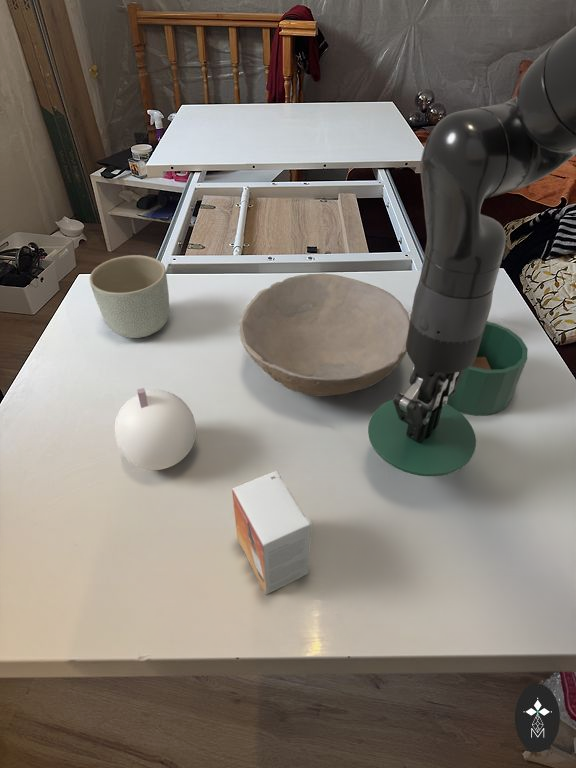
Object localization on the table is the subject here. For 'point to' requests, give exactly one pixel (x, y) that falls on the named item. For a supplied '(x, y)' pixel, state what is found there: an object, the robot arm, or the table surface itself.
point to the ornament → (155, 429)
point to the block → (481, 363)
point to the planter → (132, 294)
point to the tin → (491, 373)
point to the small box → (272, 531)
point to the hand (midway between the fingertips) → (421, 431)
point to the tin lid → (435, 454)
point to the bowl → (325, 333)
